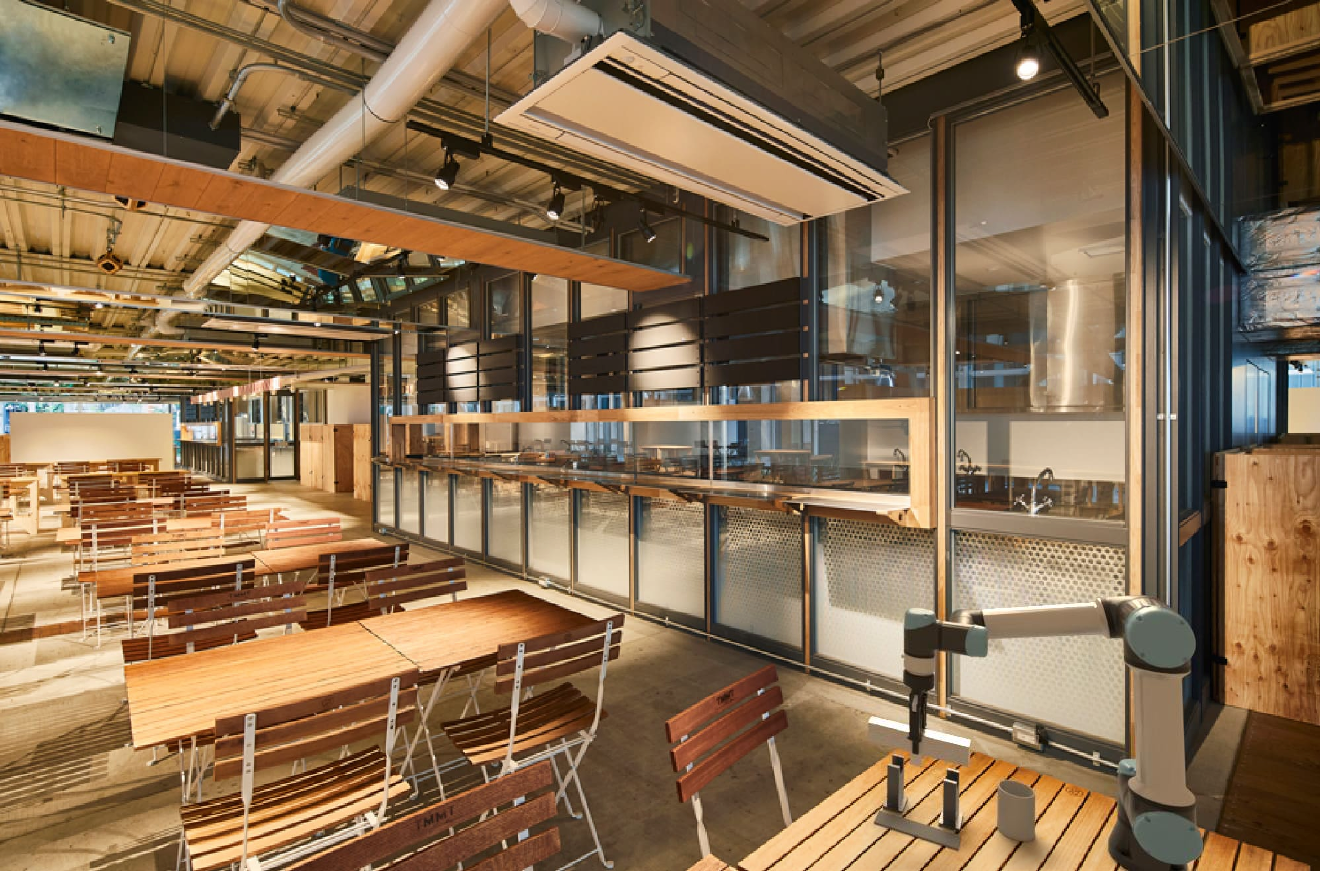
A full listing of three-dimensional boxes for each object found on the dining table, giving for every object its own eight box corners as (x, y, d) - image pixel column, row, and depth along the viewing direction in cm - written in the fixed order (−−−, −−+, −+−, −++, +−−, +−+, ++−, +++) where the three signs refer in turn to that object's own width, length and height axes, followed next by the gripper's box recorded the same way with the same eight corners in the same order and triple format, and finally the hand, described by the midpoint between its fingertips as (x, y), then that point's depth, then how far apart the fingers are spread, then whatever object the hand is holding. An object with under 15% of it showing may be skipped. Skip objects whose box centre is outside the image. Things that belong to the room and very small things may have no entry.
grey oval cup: (1041, 843, 158) (1042, 799, 158) (1005, 840, 159) (1006, 796, 159) (1019, 814, 170) (1020, 773, 170) (986, 811, 171) (986, 771, 171)
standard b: (907, 799, 176) (908, 756, 176) (902, 814, 169) (902, 769, 169) (888, 794, 178) (889, 751, 178) (882, 808, 172) (883, 764, 171)
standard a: (963, 816, 168) (963, 771, 168) (959, 832, 162) (960, 785, 162) (942, 810, 171) (943, 765, 171) (938, 825, 164) (939, 779, 164)
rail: (970, 759, 158) (970, 739, 158) (968, 767, 154) (968, 746, 154) (871, 734, 170) (871, 716, 170) (867, 740, 167) (868, 721, 167)
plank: (960, 837, 160) (960, 835, 160) (958, 850, 155) (958, 848, 155) (879, 811, 170) (879, 810, 170) (874, 823, 165) (874, 821, 165)
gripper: (909, 657, 171) (908, 743, 172) (896, 678, 157) (895, 771, 157) (939, 663, 167) (938, 750, 168) (929, 684, 153) (927, 780, 153)
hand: (917, 760), depth 162 cm, fingers closed on rail, 4 cm apart
